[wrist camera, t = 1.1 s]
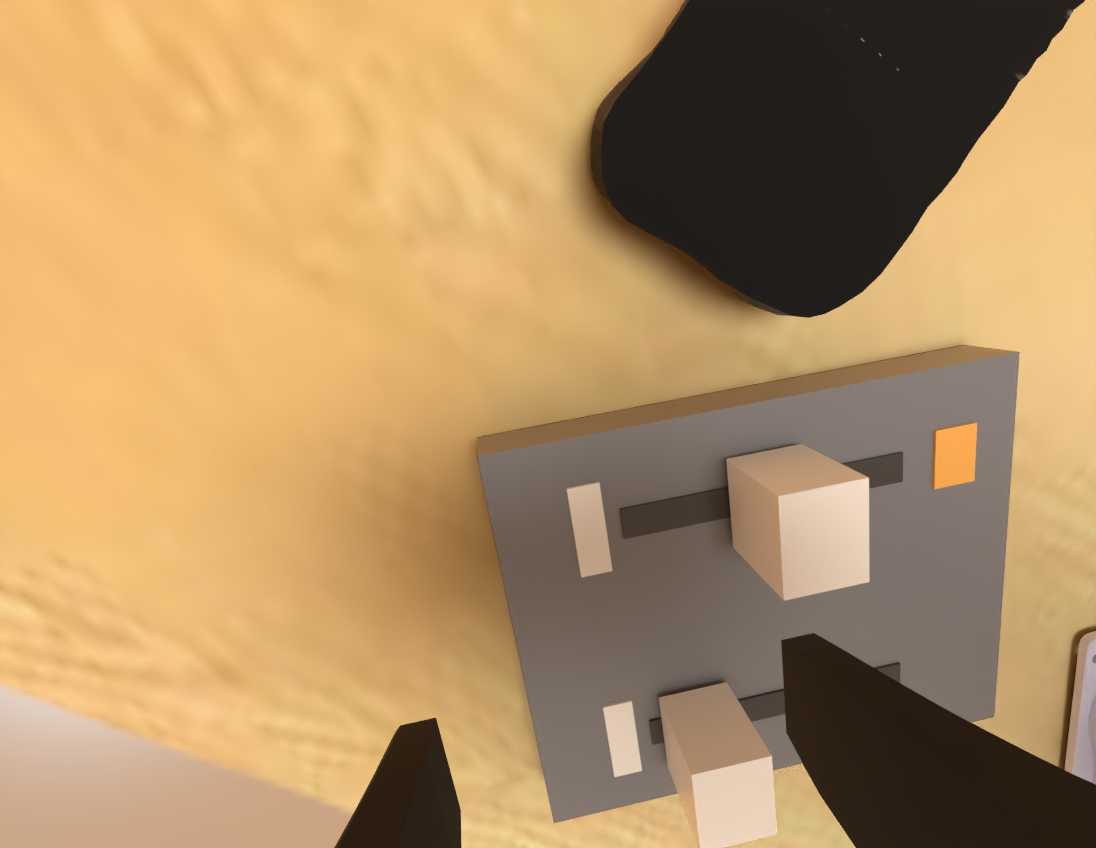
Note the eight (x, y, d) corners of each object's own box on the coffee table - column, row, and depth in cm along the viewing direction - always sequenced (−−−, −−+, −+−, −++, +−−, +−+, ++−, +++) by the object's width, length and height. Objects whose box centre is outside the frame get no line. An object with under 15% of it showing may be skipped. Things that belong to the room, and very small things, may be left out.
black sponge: (756, 342, 18) (822, 355, 15) (553, 179, 16) (573, 150, 13) (1103, -116, 16) (1279, -230, 12) (918, -369, 14) (1065, -591, 10)
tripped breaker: (805, 532, 17) (869, 581, 14) (733, 547, 17) (783, 600, 14) (801, 443, 17) (869, 477, 14) (726, 458, 16) (778, 496, 13)
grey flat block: (950, 679, 22) (996, 718, 20) (547, 774, 21) (554, 825, 19) (964, 344, 19) (1022, 352, 17) (477, 437, 18) (476, 457, 16)
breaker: (733, 751, 19) (777, 834, 16) (667, 767, 19) (700, 853, 16) (726, 682, 18) (772, 755, 16) (658, 697, 18) (691, 775, 15)
